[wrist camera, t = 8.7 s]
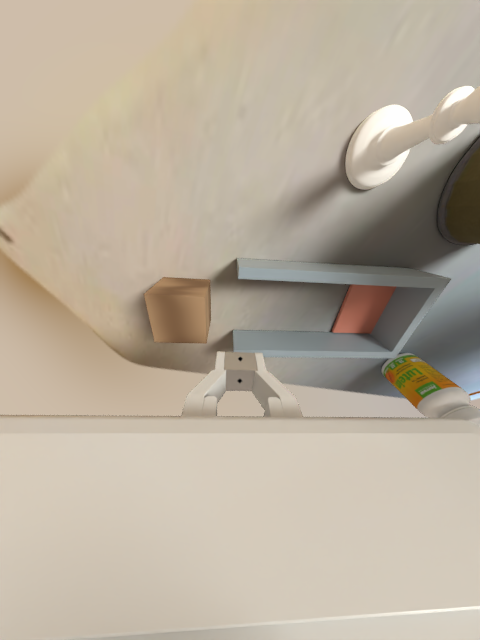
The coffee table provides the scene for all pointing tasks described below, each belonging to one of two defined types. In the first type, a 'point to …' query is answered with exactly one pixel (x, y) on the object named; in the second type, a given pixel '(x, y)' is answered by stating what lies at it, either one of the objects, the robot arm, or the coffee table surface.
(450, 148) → the coffee table surface
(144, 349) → the coffee table surface
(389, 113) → the chess piece
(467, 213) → the canister
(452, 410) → the supplement bottle
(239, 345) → the channel
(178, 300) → the walnut cube
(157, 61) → the coffee table surface
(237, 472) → the robot arm
